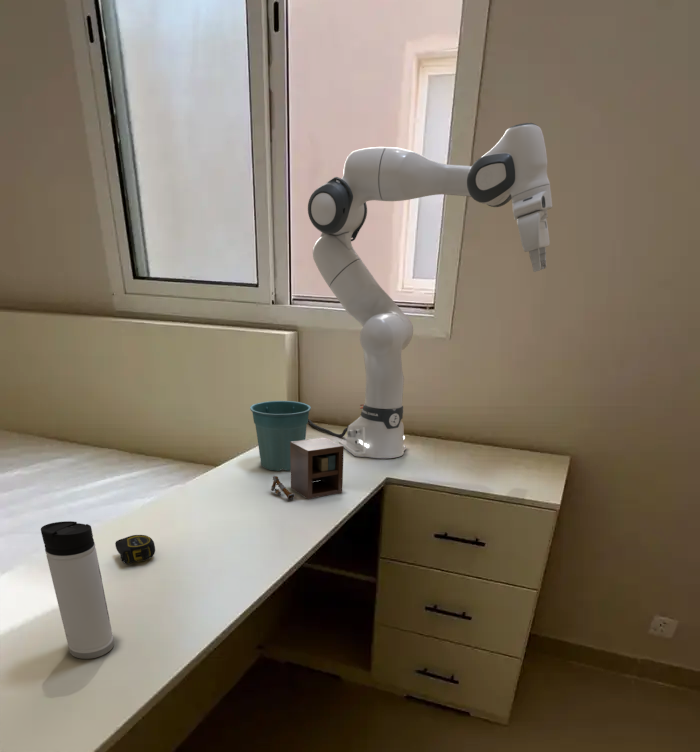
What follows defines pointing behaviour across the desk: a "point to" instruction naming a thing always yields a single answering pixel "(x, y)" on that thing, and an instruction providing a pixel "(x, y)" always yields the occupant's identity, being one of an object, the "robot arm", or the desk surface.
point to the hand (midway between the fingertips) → (540, 270)
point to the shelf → (316, 467)
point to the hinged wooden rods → (282, 487)
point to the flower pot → (279, 430)
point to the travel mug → (78, 588)
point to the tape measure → (135, 548)
